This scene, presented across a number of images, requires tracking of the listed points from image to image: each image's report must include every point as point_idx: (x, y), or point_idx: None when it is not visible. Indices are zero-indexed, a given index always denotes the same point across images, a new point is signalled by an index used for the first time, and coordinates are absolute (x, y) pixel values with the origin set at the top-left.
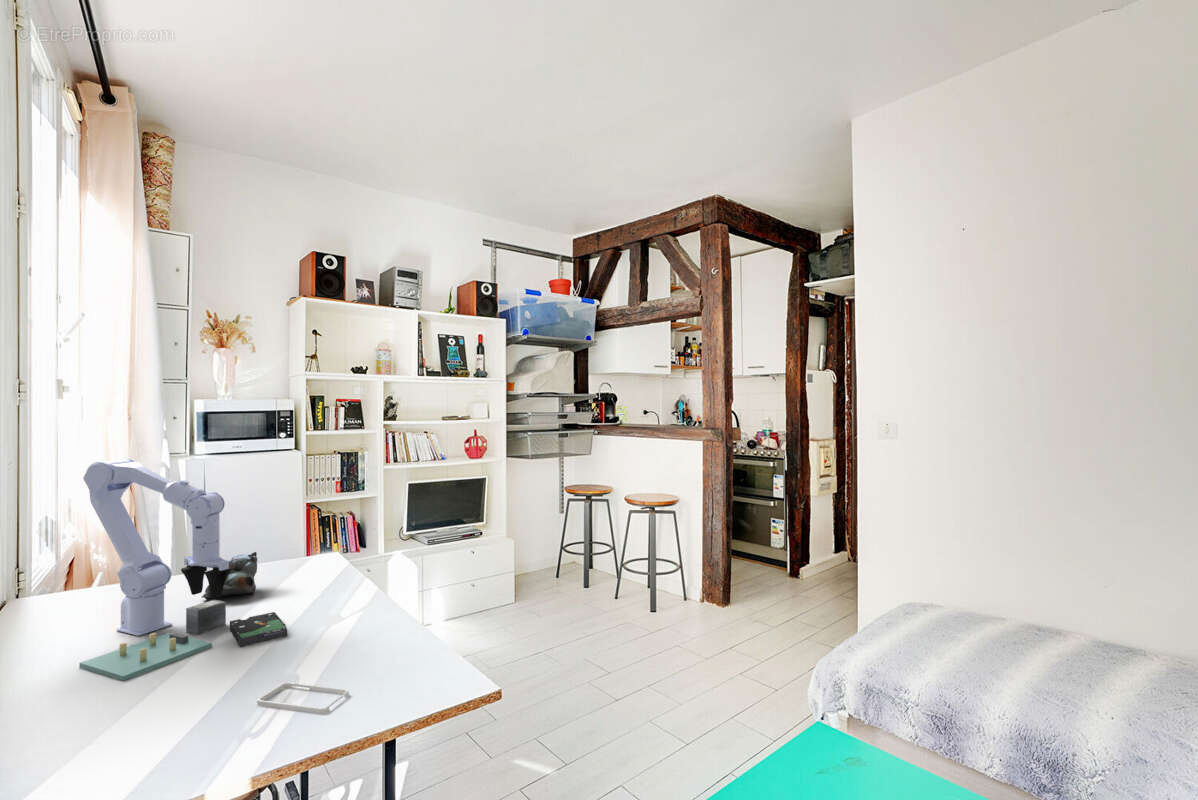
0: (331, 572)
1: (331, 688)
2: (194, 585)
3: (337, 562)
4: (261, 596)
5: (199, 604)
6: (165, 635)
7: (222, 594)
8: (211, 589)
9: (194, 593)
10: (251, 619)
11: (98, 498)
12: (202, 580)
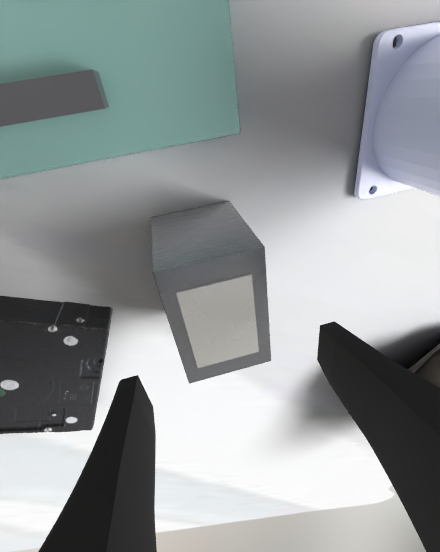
0: (318, 497)
1: None
2: (359, 379)
3: (357, 503)
4: (324, 411)
5: (264, 306)
6: (213, 101)
7: (411, 367)
8: (100, 444)
9: (324, 335)
10: (61, 379)
11: None
12: (365, 431)
